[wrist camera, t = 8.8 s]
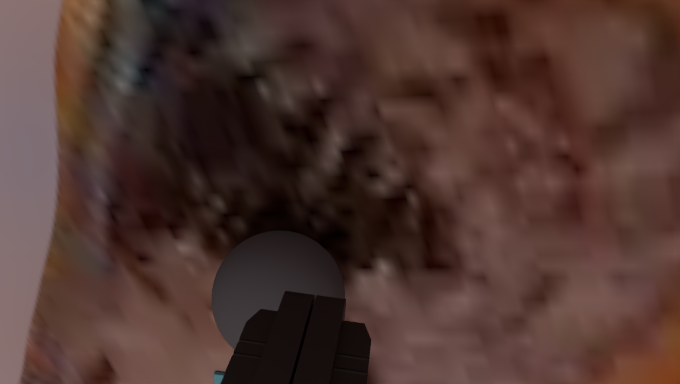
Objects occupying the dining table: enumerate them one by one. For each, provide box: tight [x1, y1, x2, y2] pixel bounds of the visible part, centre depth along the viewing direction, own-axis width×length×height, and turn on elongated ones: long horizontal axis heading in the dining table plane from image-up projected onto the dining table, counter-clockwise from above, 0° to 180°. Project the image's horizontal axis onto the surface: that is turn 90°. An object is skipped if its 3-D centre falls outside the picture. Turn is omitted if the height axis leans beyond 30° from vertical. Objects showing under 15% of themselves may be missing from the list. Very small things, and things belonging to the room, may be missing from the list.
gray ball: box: [212, 231, 345, 349], centre depth 23 cm, size 6×6×6 cm
